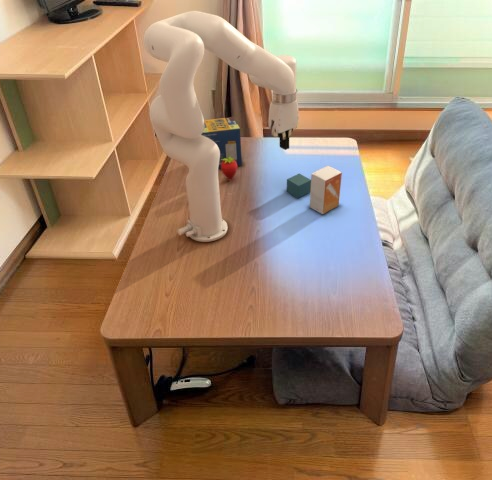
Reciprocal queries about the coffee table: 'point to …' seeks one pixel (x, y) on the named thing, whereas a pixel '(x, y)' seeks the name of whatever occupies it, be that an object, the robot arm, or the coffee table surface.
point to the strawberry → (229, 167)
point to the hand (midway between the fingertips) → (284, 147)
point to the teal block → (298, 185)
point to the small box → (325, 189)
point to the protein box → (225, 137)
